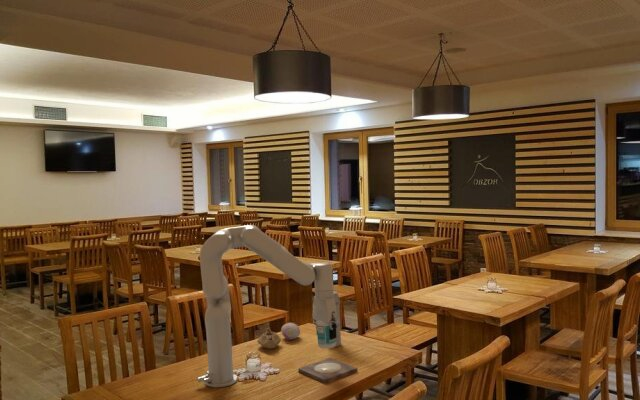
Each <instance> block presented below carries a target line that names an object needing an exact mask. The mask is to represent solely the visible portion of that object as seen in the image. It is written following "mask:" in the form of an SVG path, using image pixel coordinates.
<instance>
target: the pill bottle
mask: <svg viewBox="0 0 640 400" xmlns="http://www.w3.org/2000/svg"><path fill="white" fill-rule="evenodd" d="M331 321H332V320H331ZM331 324H332V325H333V323H331ZM329 329H330V327H329V323H328V324H327V323H324V322H322V321H320V320H318V321H317V332H316V336H317V346H318V348H321V349H326V350H327V349H332V348H336V347H337V346H336V338H334V339H330V336H329ZM335 346H336V347H335Z"/></svg>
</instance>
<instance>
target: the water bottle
mask: <svg viewBox="0 0 640 400" xmlns="http://www.w3.org/2000/svg"><path fill="white" fill-rule="evenodd" d="M333 291H334V299H335V304H336V312H337V317H338V318H339V319H340V320H341V316H340V315H341V314H340V313H341V312H340V311H341V309H340V303H341V301H340V299H339V292H338V291H335V290H333ZM341 335H342V334H341V321H340V322H339V325H338V326H337V328H336V336H337V337H336V346H335V347H334V348H336V347H339V346H340V345H341V343H342V337H341Z"/></svg>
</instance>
